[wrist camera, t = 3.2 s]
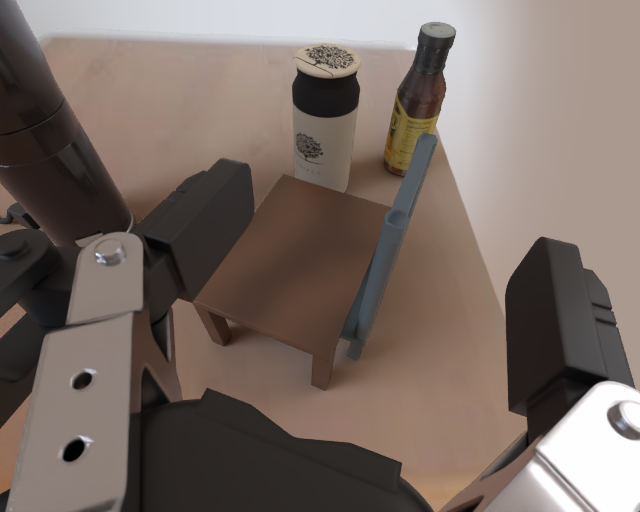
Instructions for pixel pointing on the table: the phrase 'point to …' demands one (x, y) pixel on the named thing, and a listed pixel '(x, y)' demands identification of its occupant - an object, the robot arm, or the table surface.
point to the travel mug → (325, 113)
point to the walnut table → (296, 270)
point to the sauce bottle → (419, 96)
